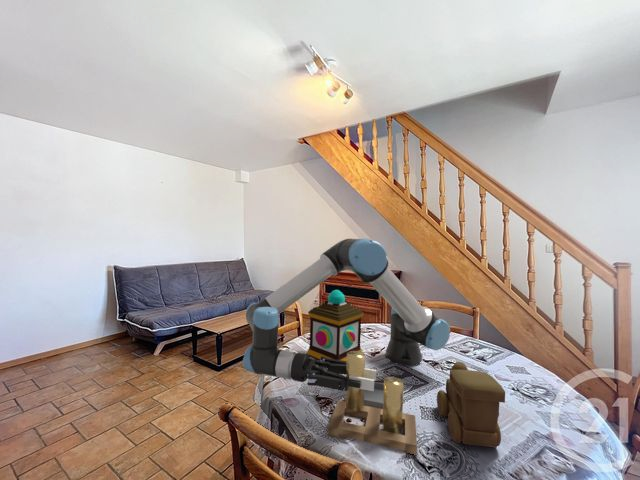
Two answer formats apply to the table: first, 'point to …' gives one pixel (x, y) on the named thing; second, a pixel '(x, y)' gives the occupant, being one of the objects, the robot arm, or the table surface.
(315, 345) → the decorative lantern
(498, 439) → the wooden toy train
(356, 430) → the wooden holder frame
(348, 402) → the cylinder
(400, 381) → the cylinder
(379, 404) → the grey square tray
